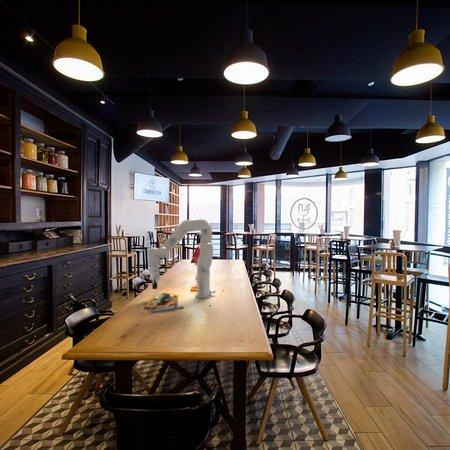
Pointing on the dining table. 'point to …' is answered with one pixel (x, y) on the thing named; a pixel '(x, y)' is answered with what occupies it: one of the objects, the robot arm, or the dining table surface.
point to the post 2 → (175, 300)
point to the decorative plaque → (161, 301)
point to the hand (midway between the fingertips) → (154, 288)
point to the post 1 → (155, 302)
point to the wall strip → (166, 309)
